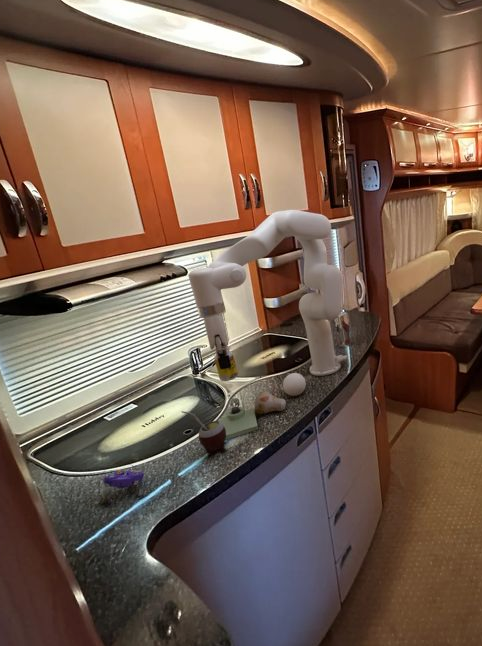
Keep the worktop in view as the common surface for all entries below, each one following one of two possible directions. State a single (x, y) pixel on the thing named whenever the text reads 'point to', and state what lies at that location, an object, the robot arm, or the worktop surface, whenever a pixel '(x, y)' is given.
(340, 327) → the beer glass
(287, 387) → the ball
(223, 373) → the supplement bottle
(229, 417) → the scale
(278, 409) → the beige lumpy tapered piece
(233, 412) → the tare button
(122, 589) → the worktop surface
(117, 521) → the worktop surface
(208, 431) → the mate gourd
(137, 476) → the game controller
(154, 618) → the worktop surface
